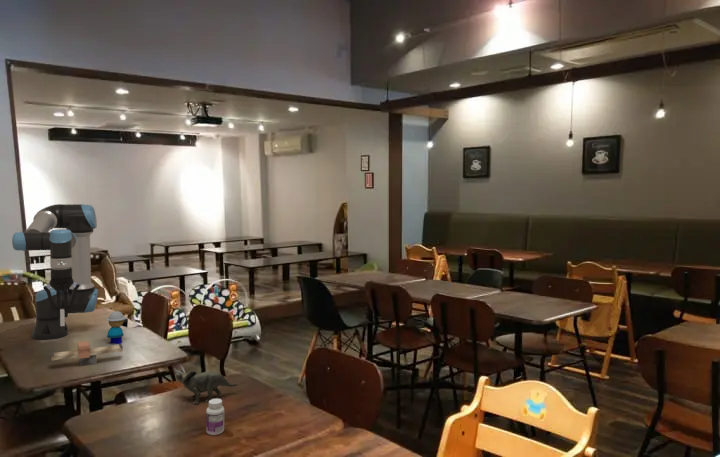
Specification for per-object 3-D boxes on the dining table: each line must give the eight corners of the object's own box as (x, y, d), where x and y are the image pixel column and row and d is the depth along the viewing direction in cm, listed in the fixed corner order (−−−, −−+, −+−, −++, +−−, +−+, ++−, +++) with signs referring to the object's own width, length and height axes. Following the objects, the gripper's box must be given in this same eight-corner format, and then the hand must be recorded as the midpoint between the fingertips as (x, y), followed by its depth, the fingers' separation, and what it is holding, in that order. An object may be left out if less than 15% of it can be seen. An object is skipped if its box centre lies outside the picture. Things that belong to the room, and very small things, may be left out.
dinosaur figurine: (238, 393, 186) (238, 363, 186) (237, 403, 178) (237, 371, 177) (175, 396, 183) (175, 365, 182) (170, 405, 174) (170, 373, 174)
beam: (51, 370, 205) (51, 355, 204) (51, 366, 209) (51, 352, 208) (122, 360, 218) (122, 346, 218) (121, 357, 222) (121, 343, 222)
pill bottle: (208, 427, 159) (208, 397, 159) (225, 427, 160) (225, 397, 159) (204, 435, 154) (204, 404, 153) (222, 435, 154) (222, 404, 154)
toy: (130, 341, 245) (130, 310, 244) (114, 346, 237) (114, 314, 236) (117, 338, 249) (117, 308, 248) (102, 343, 241) (101, 312, 240)
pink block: (78, 358, 208) (78, 346, 208) (77, 353, 214) (77, 342, 214) (89, 357, 210) (89, 345, 210) (88, 352, 217) (88, 340, 216)
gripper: (42, 270, 199) (43, 329, 201) (80, 268, 206) (81, 325, 208) (42, 267, 206) (43, 324, 208) (79, 265, 212) (80, 321, 215)
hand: (62, 325), depth 208 cm, fingers closed
